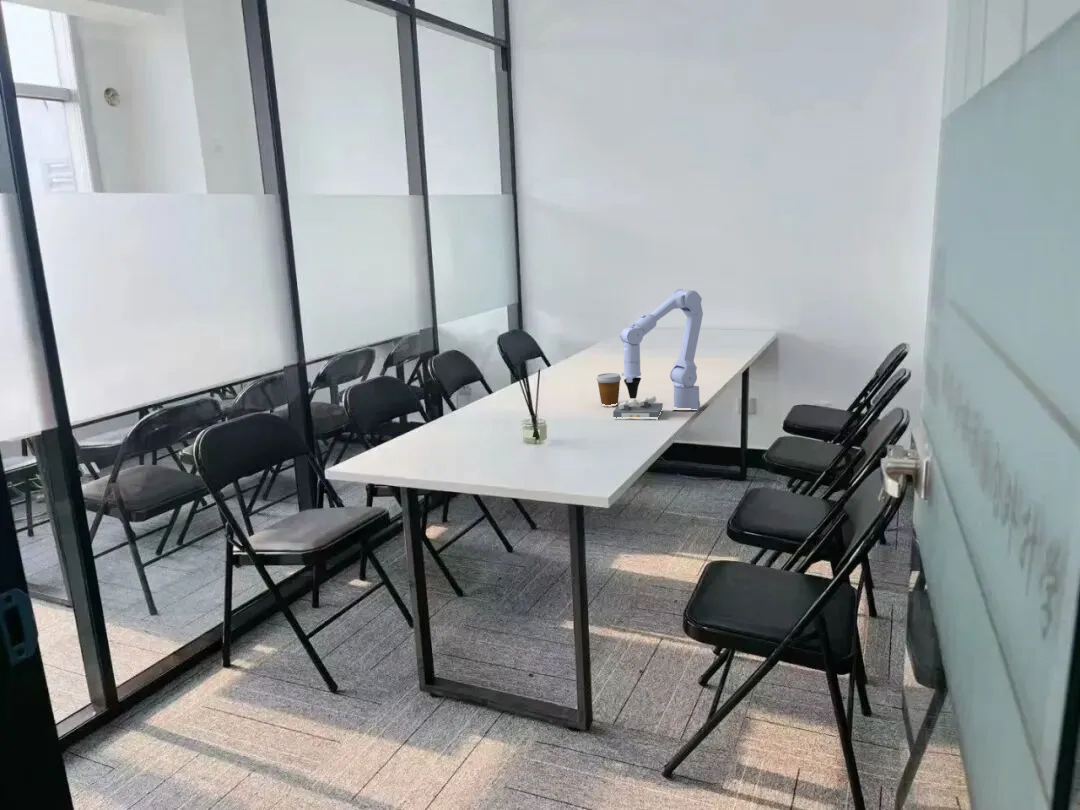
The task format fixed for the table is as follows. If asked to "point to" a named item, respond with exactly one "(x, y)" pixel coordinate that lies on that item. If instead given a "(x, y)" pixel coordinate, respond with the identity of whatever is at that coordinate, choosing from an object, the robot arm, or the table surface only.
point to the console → (639, 410)
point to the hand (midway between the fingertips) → (633, 398)
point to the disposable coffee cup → (609, 387)
